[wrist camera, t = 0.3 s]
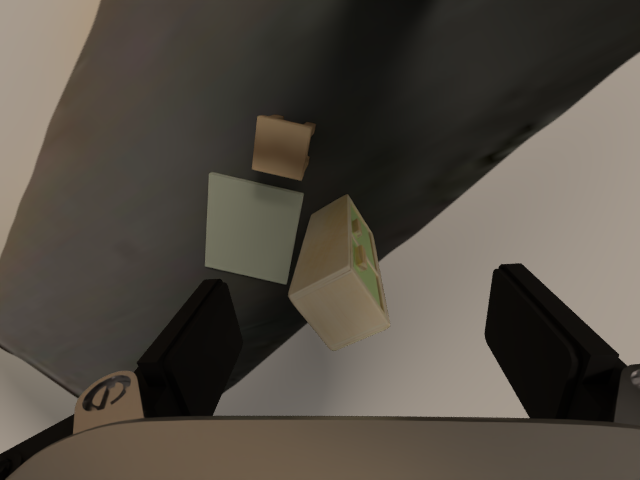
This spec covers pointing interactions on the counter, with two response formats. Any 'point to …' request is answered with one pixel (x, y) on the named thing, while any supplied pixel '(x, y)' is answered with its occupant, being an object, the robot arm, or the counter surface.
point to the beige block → (339, 277)
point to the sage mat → (251, 227)
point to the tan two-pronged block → (282, 146)
